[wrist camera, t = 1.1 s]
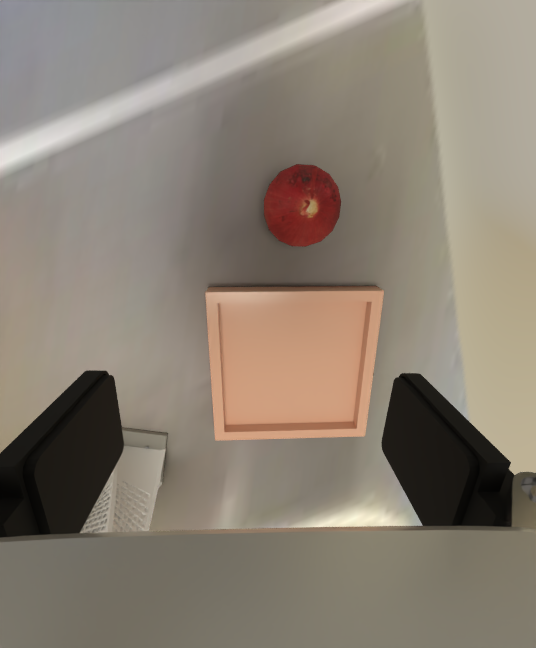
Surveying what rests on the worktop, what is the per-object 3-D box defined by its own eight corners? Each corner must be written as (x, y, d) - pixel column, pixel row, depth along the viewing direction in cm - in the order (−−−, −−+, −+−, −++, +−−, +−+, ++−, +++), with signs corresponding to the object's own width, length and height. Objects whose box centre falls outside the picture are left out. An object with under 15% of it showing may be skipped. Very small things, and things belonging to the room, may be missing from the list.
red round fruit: (263, 169, 26) (267, 152, 18) (331, 172, 26) (362, 155, 19) (261, 241, 28) (264, 251, 20) (324, 243, 28) (351, 253, 21)
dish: (208, 287, 29) (205, 292, 27) (375, 285, 30) (384, 290, 28) (217, 428, 34) (215, 440, 33) (358, 424, 35) (364, 436, 33)
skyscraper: (180, 434, 35) (-52, 1144, 8) (174, 489, 37) (-19, 1160, 11) (102, 425, 34) (-438, 1184, 7) (101, 481, 36) (-300, 1190, 10)
